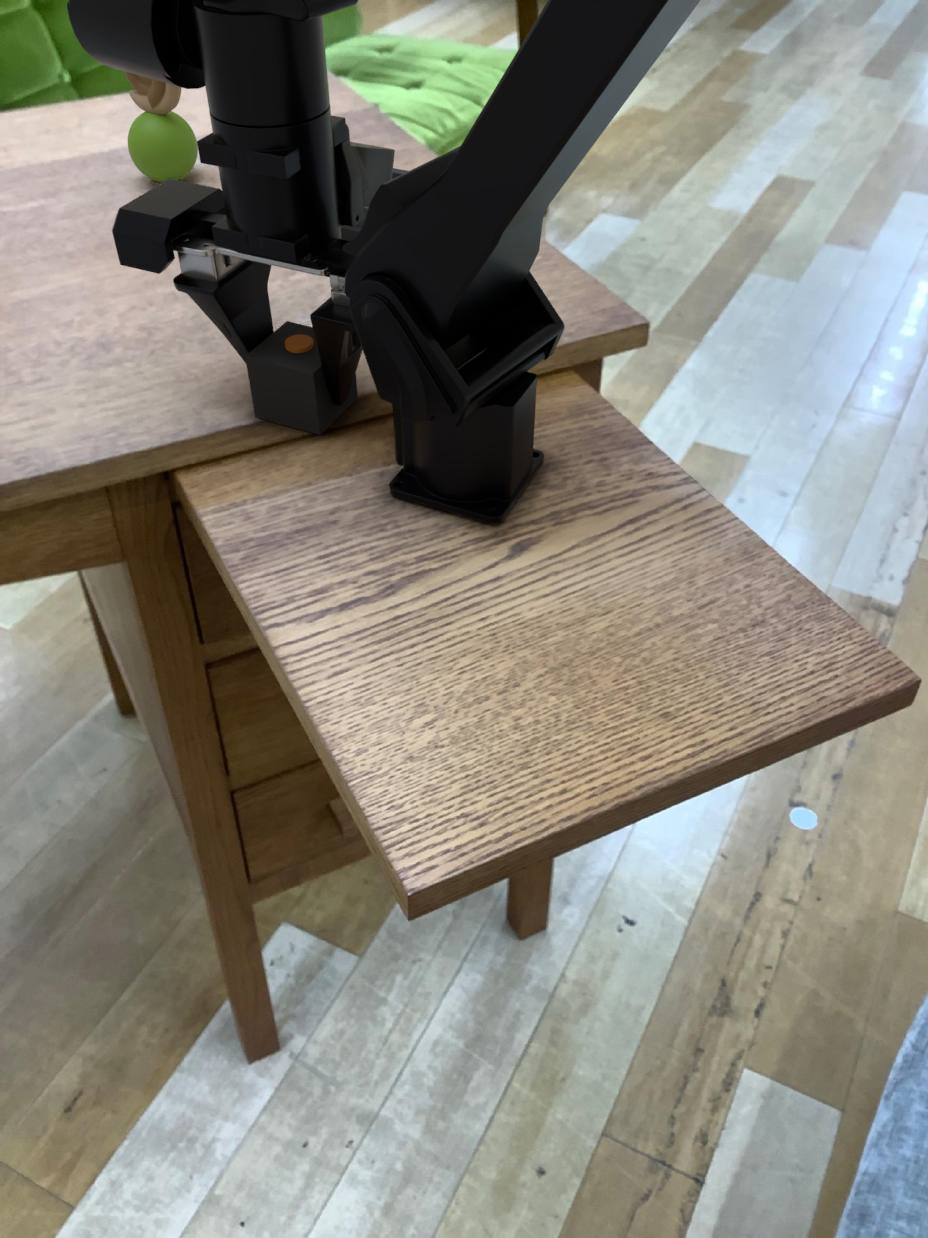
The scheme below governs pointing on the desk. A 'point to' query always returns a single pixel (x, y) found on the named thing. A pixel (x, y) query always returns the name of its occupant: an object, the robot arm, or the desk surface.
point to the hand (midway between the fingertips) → (305, 392)
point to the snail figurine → (160, 131)
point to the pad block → (292, 381)
